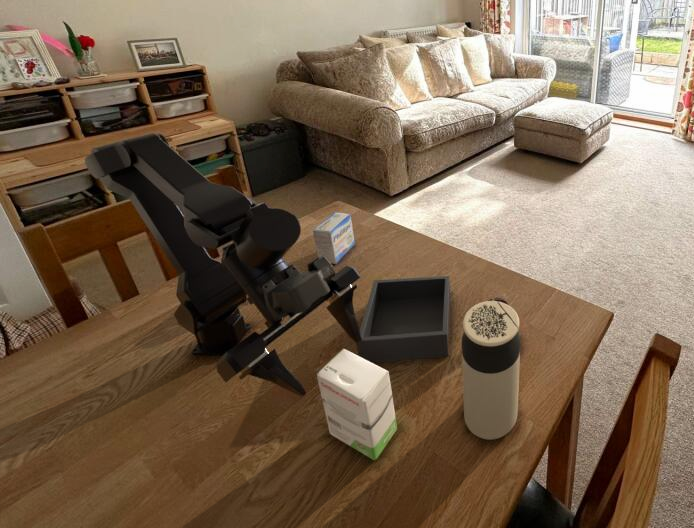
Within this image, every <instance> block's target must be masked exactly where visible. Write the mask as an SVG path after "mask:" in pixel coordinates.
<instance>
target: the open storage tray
mask: <svg viewBox="0 0 694 528" xmlns="http://www.w3.org/2000/svg"><path fill="white" fill-rule="evenodd" d="M365 307H366V308H365V311H364V314H363V318H362V320H361V325H360V327H359V331H360V335H361V339H362V341H361V342H359V343H356V347H357V351H358V352H357V353H358V356H359V357H361V358H363V359H365V360H367V361H369V362H371V363H373V364H374V363H385V362H394V361H395V362H396V361H408V360H419V359H431V358H432V359H433V358H444V357H449V343H450V342H449V341H450V318H451V317H450V315H451V314H450V313H451V281H450V275H437V276H423V277H421V276H420V277H407V278H405V277H404V278H390V279H388V278H387V279H375V280H373V284H372V287H371V290H370V293H369V297H368V300H367V304H366V306H365Z"/></svg>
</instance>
